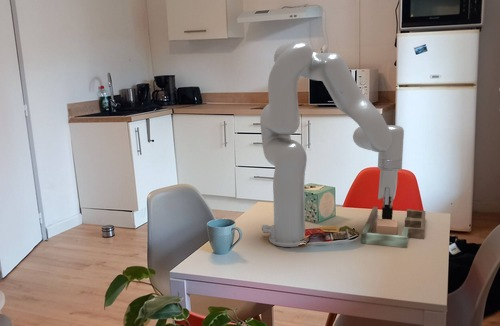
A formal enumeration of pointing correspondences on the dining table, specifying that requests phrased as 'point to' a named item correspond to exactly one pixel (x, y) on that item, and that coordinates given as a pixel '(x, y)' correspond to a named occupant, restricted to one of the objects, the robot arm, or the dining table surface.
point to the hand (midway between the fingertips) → (387, 218)
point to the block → (387, 227)
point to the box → (411, 230)
